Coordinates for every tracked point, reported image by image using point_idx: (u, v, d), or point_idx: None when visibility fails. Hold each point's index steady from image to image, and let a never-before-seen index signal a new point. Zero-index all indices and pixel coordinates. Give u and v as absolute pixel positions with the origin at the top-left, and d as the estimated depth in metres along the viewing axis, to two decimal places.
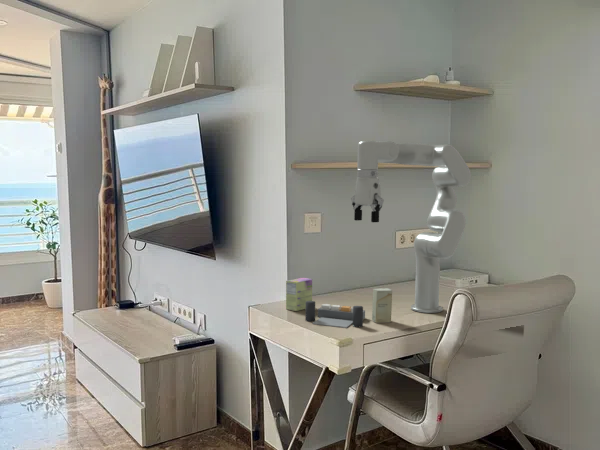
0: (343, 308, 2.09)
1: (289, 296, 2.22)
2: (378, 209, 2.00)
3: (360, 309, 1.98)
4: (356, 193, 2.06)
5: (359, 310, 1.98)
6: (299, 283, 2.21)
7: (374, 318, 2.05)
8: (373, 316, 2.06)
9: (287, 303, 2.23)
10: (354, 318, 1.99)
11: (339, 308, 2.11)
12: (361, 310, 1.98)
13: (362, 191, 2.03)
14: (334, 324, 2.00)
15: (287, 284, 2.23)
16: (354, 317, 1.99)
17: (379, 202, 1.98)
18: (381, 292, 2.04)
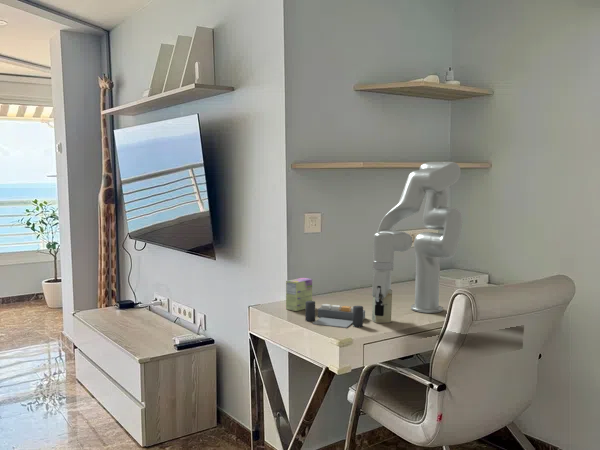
0: (343, 308, 2.09)
1: (289, 296, 2.22)
2: None
3: (360, 309, 1.98)
4: (386, 286, 2.02)
5: (359, 310, 1.98)
6: (299, 283, 2.21)
7: (374, 318, 2.05)
8: (373, 316, 2.06)
9: (287, 303, 2.23)
10: (354, 318, 1.99)
11: (339, 308, 2.11)
12: (361, 310, 1.98)
13: (389, 282, 2.05)
14: (334, 324, 2.00)
15: (287, 284, 2.23)
16: (354, 317, 1.99)
17: None
18: None
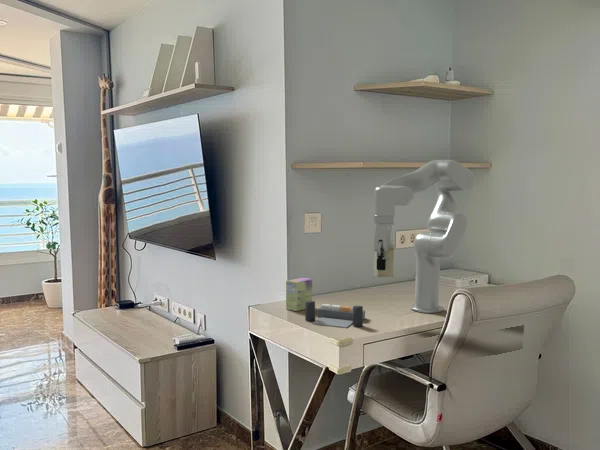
0: (343, 308, 2.09)
1: (289, 296, 2.22)
2: None
3: (360, 309, 1.98)
4: (387, 240, 2.00)
5: (358, 310, 1.98)
6: (299, 283, 2.21)
7: (376, 272, 2.04)
8: (375, 271, 2.05)
9: (287, 303, 2.23)
10: (354, 318, 1.99)
11: (339, 308, 2.11)
12: (361, 310, 1.98)
13: (390, 236, 2.04)
14: (334, 324, 2.00)
15: (287, 284, 2.23)
16: (354, 317, 1.99)
17: None
18: None
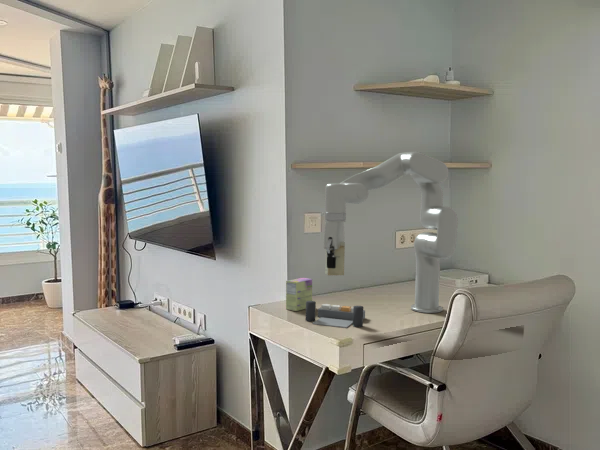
0: (343, 308, 2.09)
1: (289, 296, 2.22)
2: None
3: (361, 309, 1.98)
4: (337, 237, 1.97)
5: (359, 310, 1.98)
6: (299, 283, 2.21)
7: (327, 271, 2.01)
8: (326, 269, 2.02)
9: (287, 303, 2.23)
10: (355, 318, 1.98)
11: (339, 308, 2.11)
12: (362, 310, 1.98)
13: (341, 234, 2.00)
14: (334, 324, 2.00)
15: (287, 284, 2.23)
16: (354, 316, 1.99)
17: None
18: None
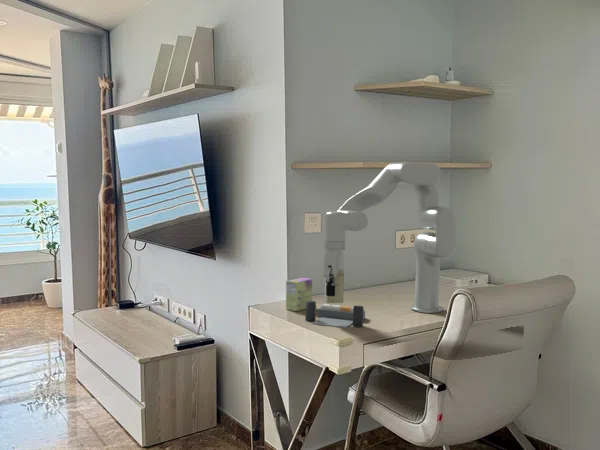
0: (343, 308, 2.09)
1: (289, 296, 2.22)
2: None
3: (361, 309, 1.98)
4: (337, 266, 1.98)
5: (359, 310, 1.98)
6: (299, 283, 2.21)
7: (326, 298, 2.01)
8: (325, 297, 2.03)
9: (287, 303, 2.23)
10: (355, 318, 1.98)
11: (339, 308, 2.11)
12: (362, 310, 1.98)
13: (341, 262, 2.01)
14: (334, 324, 2.00)
15: (287, 284, 2.23)
16: (354, 316, 1.99)
17: None
18: None
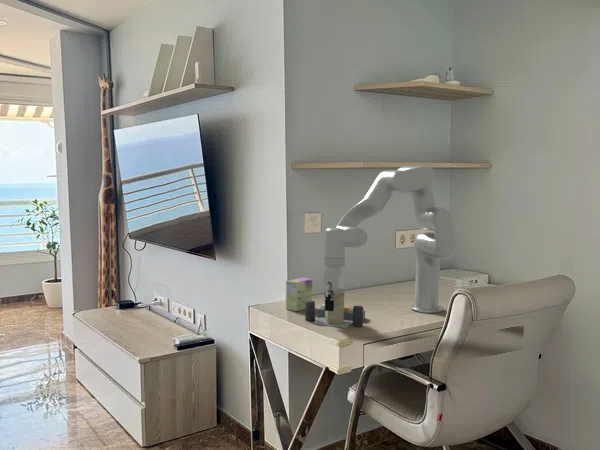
0: None
1: (289, 296, 2.22)
2: None
3: (361, 309, 1.98)
4: (337, 282, 1.98)
5: (359, 310, 1.98)
6: (299, 283, 2.21)
7: (326, 318, 2.02)
8: (325, 316, 2.04)
9: (287, 303, 2.23)
10: (355, 318, 1.98)
11: None
12: (362, 310, 1.98)
13: (341, 278, 2.02)
14: (334, 324, 2.00)
15: (287, 284, 2.23)
16: (354, 317, 1.98)
17: None
18: None
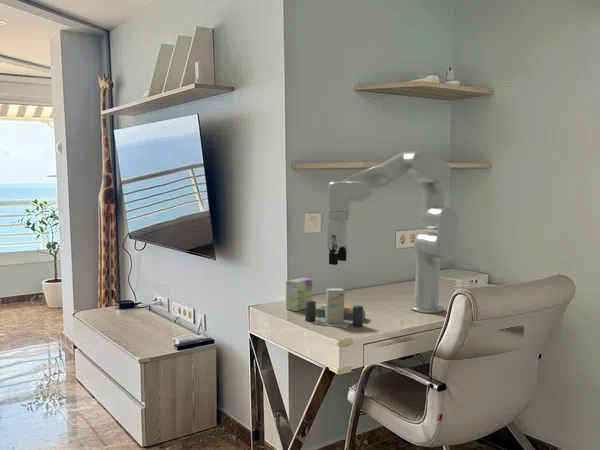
0: None
1: (289, 296, 2.22)
2: None
3: (361, 309, 1.98)
4: (340, 236, 1.98)
5: (359, 310, 1.98)
6: (299, 283, 2.21)
7: (326, 318, 2.02)
8: (325, 316, 2.04)
9: (287, 303, 2.23)
10: (355, 318, 1.98)
11: None
12: (362, 310, 1.98)
13: (344, 232, 2.01)
14: (334, 324, 2.00)
15: (287, 284, 2.23)
16: (354, 317, 1.98)
17: None
18: (333, 292, 2.01)
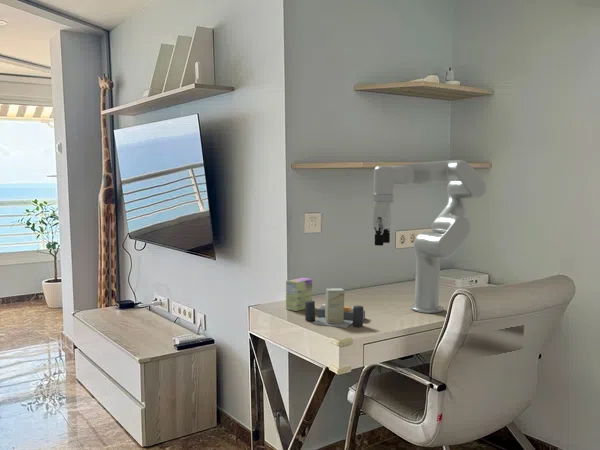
0: None
1: (289, 296, 2.22)
2: None
3: (361, 309, 1.98)
4: (386, 218, 2.06)
5: (360, 310, 1.98)
6: (299, 283, 2.21)
7: (326, 318, 2.02)
8: (325, 316, 2.04)
9: (287, 303, 2.23)
10: (355, 318, 1.98)
11: None
12: (362, 310, 1.98)
13: (389, 215, 2.09)
14: (334, 324, 2.00)
15: (287, 284, 2.23)
16: (355, 317, 1.98)
17: None
18: (333, 292, 2.01)
